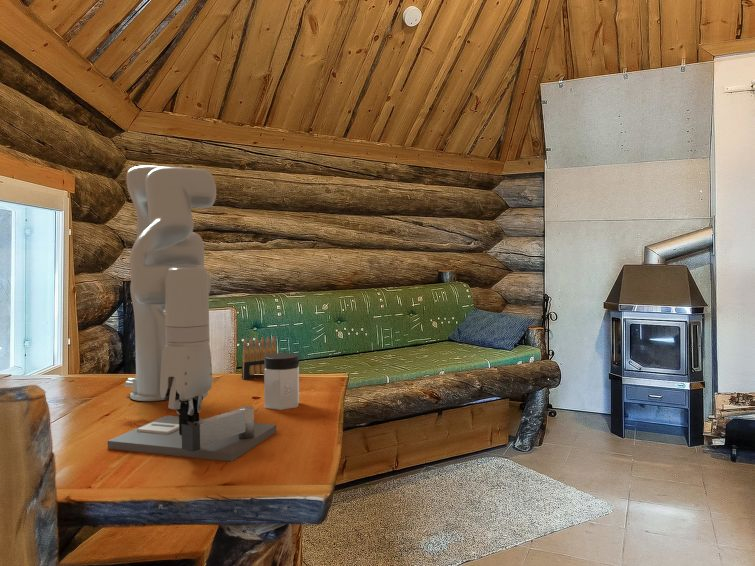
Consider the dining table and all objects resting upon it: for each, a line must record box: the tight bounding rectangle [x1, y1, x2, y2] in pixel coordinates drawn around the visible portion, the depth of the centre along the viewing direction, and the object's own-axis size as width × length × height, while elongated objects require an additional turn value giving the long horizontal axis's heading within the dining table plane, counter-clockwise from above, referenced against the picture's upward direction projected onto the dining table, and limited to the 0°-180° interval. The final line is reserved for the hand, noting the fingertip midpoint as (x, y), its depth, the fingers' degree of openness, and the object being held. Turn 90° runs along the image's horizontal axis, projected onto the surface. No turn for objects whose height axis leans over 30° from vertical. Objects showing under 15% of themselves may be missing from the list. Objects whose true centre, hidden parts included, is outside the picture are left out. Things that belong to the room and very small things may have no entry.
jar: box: [263, 352, 300, 411], centre depth 144 cm, size 9×8×12 cm
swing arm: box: [182, 406, 255, 452], centre depth 109 cm, size 15×3×5 cm, turn 147°
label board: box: [107, 415, 277, 462], centre depth 118 cm, size 26×18×2 cm
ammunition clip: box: [241, 335, 278, 381], centre depth 176 cm, size 11×2×12 cm, turn 123°
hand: (189, 434), depth 110 cm, fingers closed
